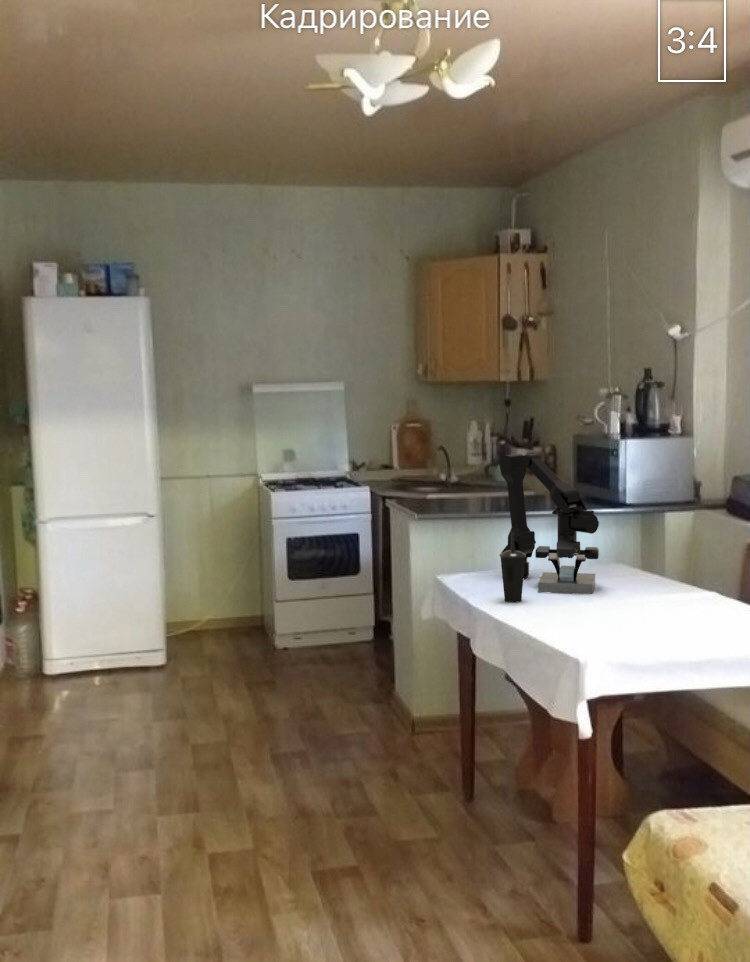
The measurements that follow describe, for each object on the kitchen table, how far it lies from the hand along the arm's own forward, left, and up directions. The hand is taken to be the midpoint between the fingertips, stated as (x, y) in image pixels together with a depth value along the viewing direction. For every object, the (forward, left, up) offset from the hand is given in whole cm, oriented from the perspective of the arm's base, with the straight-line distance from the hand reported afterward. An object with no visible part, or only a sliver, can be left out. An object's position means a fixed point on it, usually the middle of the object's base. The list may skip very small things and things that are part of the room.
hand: (567, 580), depth 319 cm
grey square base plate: (0, 0, -2) cm, 2 cm away
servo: (0, 0, -1) cm, 1 cm away
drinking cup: (-14, -20, -2) cm, 25 cm away
